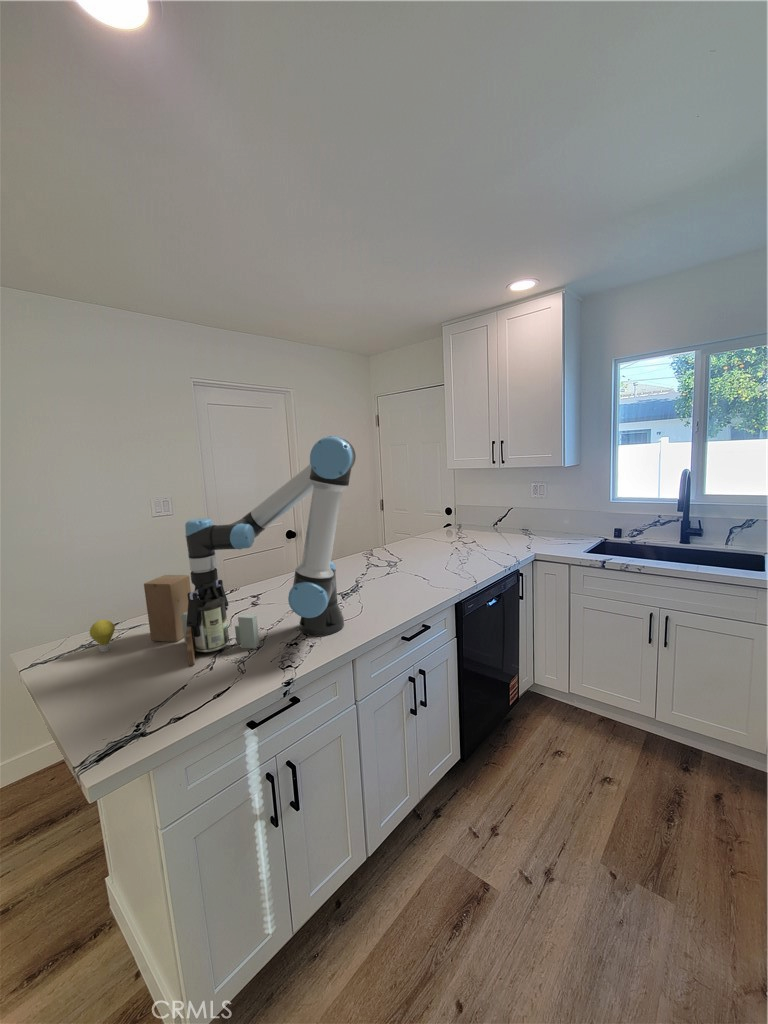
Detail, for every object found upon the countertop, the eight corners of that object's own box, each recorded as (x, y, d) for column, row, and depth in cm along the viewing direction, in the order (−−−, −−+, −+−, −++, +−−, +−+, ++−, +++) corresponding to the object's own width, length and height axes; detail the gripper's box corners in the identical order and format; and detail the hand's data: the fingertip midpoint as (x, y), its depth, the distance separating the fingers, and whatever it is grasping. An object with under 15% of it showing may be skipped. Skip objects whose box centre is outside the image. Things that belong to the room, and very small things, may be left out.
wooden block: (177, 642, 138) (169, 583, 135) (150, 641, 140) (142, 583, 137) (196, 629, 148) (189, 574, 145) (171, 628, 150) (164, 574, 147)
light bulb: (122, 646, 137) (118, 617, 135) (103, 656, 130) (98, 625, 129) (107, 644, 139) (103, 615, 138) (87, 653, 133) (82, 623, 131)
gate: (193, 664, 122) (190, 635, 120) (189, 665, 121) (185, 636, 120) (196, 640, 138) (192, 614, 137) (192, 641, 137) (188, 615, 136)
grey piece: (259, 644, 133) (256, 614, 132) (255, 648, 131) (252, 617, 129) (190, 639, 139) (187, 611, 138) (184, 643, 137) (181, 614, 135)
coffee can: (213, 635, 139) (208, 594, 137) (236, 640, 135) (232, 597, 133) (187, 649, 130) (181, 605, 128) (211, 654, 125) (206, 609, 123)
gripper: (215, 559, 140) (222, 622, 144) (166, 580, 119) (176, 654, 122) (235, 559, 139) (242, 623, 142) (189, 581, 117) (198, 655, 120)
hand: (211, 637), depth 132 cm, fingers closed on coffee can, 10 cm apart
